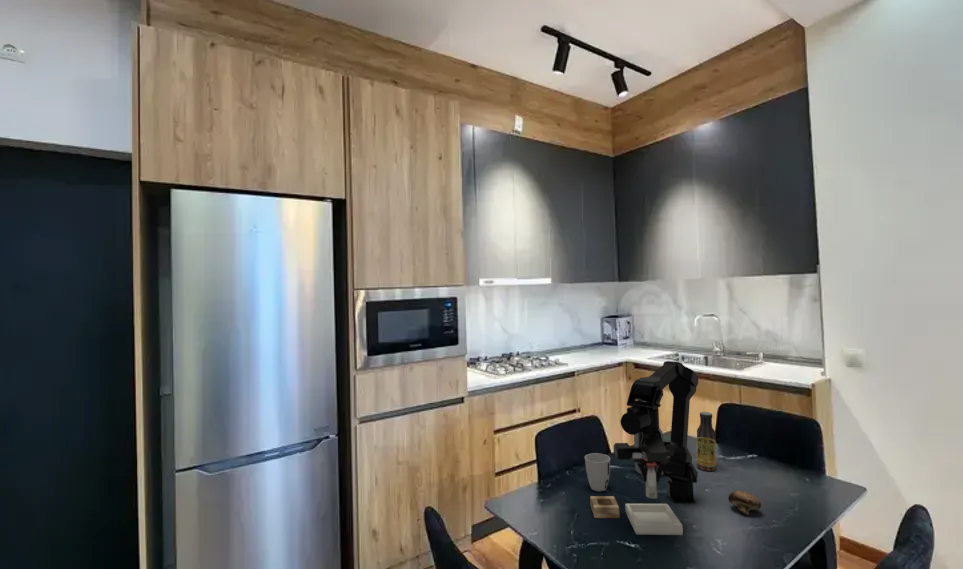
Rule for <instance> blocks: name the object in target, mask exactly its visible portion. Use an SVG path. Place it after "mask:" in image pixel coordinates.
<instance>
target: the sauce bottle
mask: <svg viewBox="0 0 963 569" xmlns="http://www.w3.org/2000/svg"><path fill="white" fill-rule="evenodd" d="M699 417H700V423H699V426H698V428H697V429H696V467H697V468H698V469H700V470H702V471H707V472H713V471H715V470H716V468H717V467H716V466H717V439H716V436H717V435H716V430H714V427H713V424H712V423H713V413H711V412H709V411H700V412H699Z"/></svg>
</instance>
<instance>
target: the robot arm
mask: <svg viewBox="0 0 963 569" xmlns="http://www.w3.org/2000/svg"><path fill="white" fill-rule="evenodd" d="M698 385H699V376H698V375H697V373H695V371H694V370H693V369H691V368H689V367H688V366H685V365H684V364H683V363H682V362H679V361H671V360H666V361H664V362H663V363H662V365H661V366H660V367H659V368H657V370H655V371H654V372H653V373H652V374H650V375H649V376H643V377H640V378H637V379H635V380H634V381H633V383H632V385H631V387H630V392H629V394H628V398H627V401H626V406H628V407H627V408H626V412H625V413H624V414H622V416H621V418H620V420H619V421H620V426H621V429H623V431H624V432H625V433H626V434H629V435H632V436H634V435H635V434H637V433H638V445H639V447H634V446H630V444H629V443H628V442H615V443H614V445H613V453H614V456H615V457H616V459H618V460H626V461H628V460H632V462H634V463H635V462H636V463H637V465H638V468H639V470H640V473H641V474H640V475H641V478H642V480H643V482H644V483H645V482H646V474H645V467H644V462H645V461H644V459H643V458H642V454H646V456H647V460H648V461H650V462H655V461H658V465H657V466H656V476H657V483H659V482H660V479H661V476H662V475H661V473H662V470H663V477H664V478H668V480H667V481H666V486H667V495H668V497H669V498H670V499H671V501H673V502H674V503H697V502H696V499H695V498H694V484H695V483H698V470H697V469H696V467H695V466H694V464H693V456H692V454H691V452H690V451H689V449H688V436H689V435H688V434H689V418H690V416H689V415H690V402H691V399H692V398H693V396H694V395H695V394H696V392H697V387H698ZM667 386H668V389H669V391H670V393H671V395H672V397H673V399H672V414H671V425H670V426H671V427H670V441H665V440H663V441H662V438H661V432H660V430H659V428H660V412H659V410H660V409H659V408H660V407H661V401H662V398H663V396H664V389H665V388H666V387H667ZM635 399H636V400H635ZM638 400H641V401H638ZM643 401H646V402H643ZM631 406H632V407H631Z"/></svg>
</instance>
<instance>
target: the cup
mask: <svg viewBox="0 0 963 569" xmlns="http://www.w3.org/2000/svg"><path fill="white" fill-rule="evenodd" d="M584 461H585V462H584V465H585V471H586V475H587V481H588V483H589V486H590V489H591V490H593V491H595V492H605V491H606V490H607V489H608V486H609V482H610V481H609V480H610V474H611V457H610V456H609V455H607V454H603V453H597V452H595V453H593V452H592V453H589V454H588V453H587V454H586V455H584Z"/></svg>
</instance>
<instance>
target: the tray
mask: <svg viewBox="0 0 963 569" xmlns="http://www.w3.org/2000/svg"><path fill="white" fill-rule="evenodd" d="M624 504H625V506H624V510H625V514H626V516H627V519H628V520H629V522H630V525H631V526H632V528H633V531H634V533H635V534H636V535H637V536H638V535H639V536H641V535H643V536H645V535H647V536H648V535H653V536H655V535H656V536H665V535H666V536H683V535H684V534H683V533H684V530H683V527H684V526H683V524H682V523H681V522H680V521H681V520H679V518H678V517H677V515H676V514H675V512H674V511H673V510H672V508H671V507H670V505H669V504H668V503H624Z"/></svg>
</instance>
